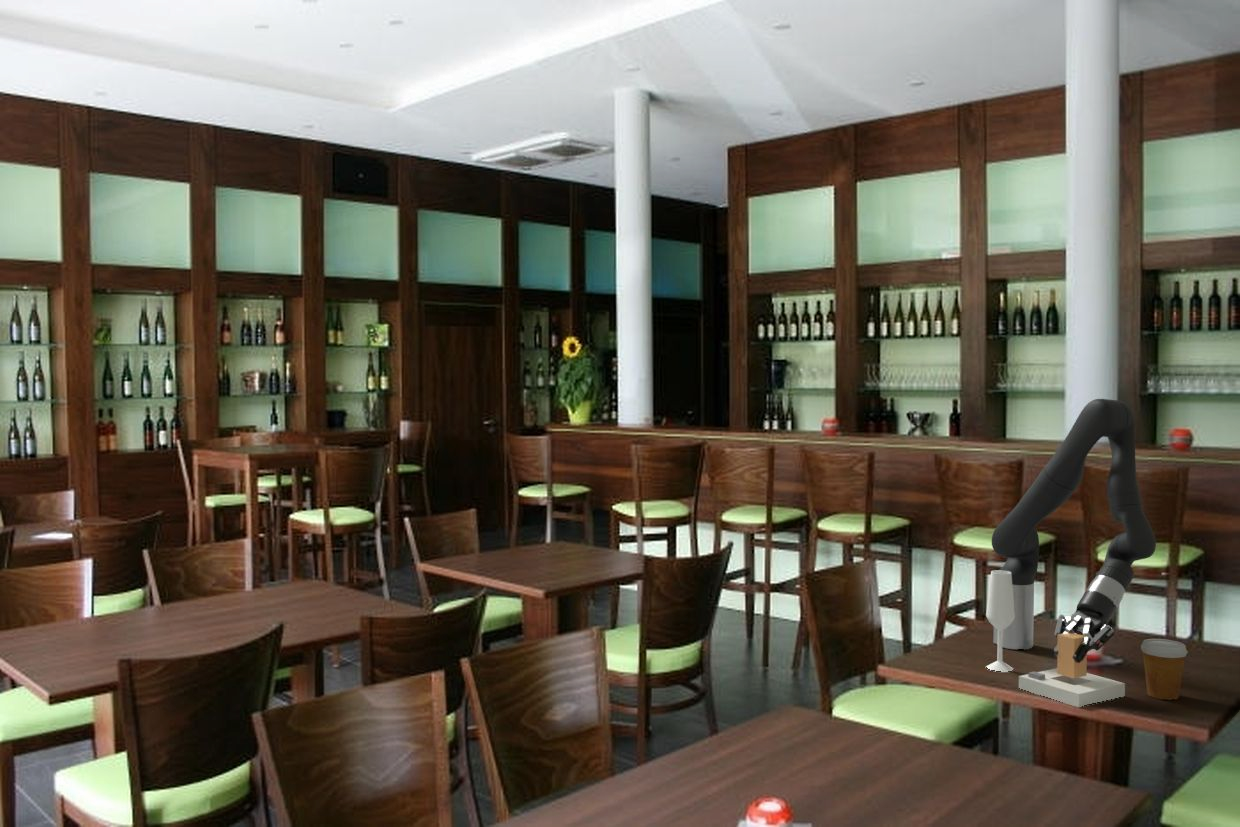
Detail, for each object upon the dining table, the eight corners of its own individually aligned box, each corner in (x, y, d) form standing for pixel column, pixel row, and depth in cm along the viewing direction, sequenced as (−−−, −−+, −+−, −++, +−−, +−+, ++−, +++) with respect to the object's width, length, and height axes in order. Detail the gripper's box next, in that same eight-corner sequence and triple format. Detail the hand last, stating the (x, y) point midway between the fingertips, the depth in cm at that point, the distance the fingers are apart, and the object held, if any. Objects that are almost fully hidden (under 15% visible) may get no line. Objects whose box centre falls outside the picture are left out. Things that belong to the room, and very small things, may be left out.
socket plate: (1018, 688, 251) (1018, 671, 251) (1064, 678, 259) (1064, 662, 259) (1078, 707, 237) (1078, 689, 237) (1124, 696, 245) (1125, 679, 245)
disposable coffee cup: (1190, 704, 239) (1191, 650, 239) (1142, 699, 243) (1143, 646, 242) (1182, 691, 248) (1183, 640, 248) (1137, 688, 252) (1138, 636, 251)
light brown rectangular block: (1057, 673, 248) (1057, 634, 248) (1069, 670, 251) (1070, 632, 250) (1073, 678, 245) (1074, 638, 244) (1086, 675, 247) (1086, 636, 246)
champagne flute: (1016, 672, 264) (1018, 575, 263) (987, 671, 265) (989, 574, 264) (1011, 665, 271) (1012, 570, 270) (983, 664, 272) (984, 569, 271)
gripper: (1067, 584, 257) (1032, 641, 251) (1121, 594, 244) (1086, 655, 239) (1081, 604, 260) (1047, 660, 254) (1136, 615, 247) (1101, 675, 242)
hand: (1066, 657), depth 246 cm, fingers closed on light brown rectangular block, 4 cm apart
